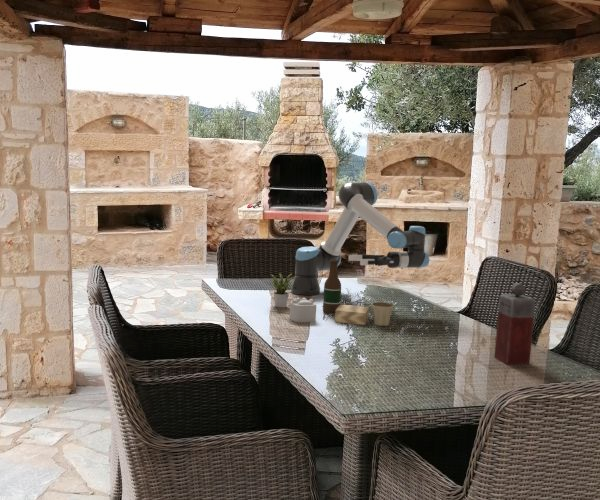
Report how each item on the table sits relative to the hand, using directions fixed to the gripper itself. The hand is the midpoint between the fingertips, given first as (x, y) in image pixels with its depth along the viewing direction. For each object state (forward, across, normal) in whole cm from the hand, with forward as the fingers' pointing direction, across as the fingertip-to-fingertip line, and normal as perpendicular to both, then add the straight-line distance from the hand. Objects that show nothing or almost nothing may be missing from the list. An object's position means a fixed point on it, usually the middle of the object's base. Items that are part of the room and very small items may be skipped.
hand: (354, 259), depth 302 cm
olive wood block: (+6, -15, -24) cm, 29 cm away
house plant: (+28, +15, -24) cm, 40 cm away
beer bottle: (+10, 0, -24) cm, 26 cm away
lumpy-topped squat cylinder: (+28, -10, -24) cm, 38 cm away
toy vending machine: (-28, -80, -25) cm, 88 cm away
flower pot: (-3, -24, -24) cm, 35 cm away
